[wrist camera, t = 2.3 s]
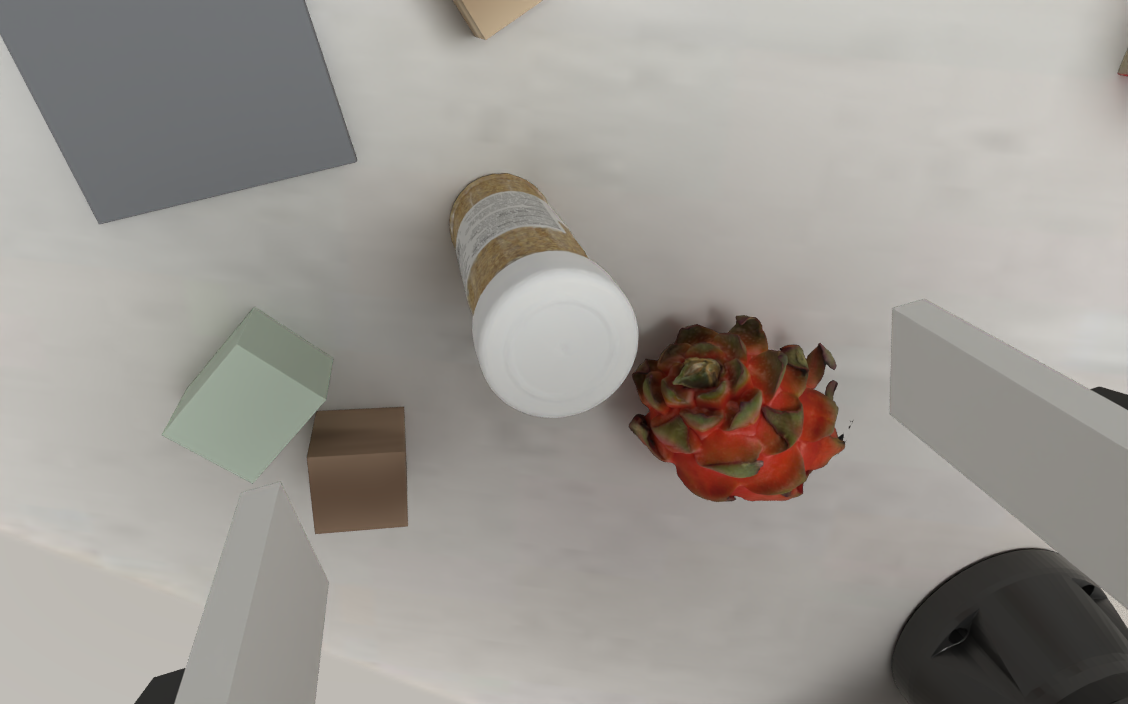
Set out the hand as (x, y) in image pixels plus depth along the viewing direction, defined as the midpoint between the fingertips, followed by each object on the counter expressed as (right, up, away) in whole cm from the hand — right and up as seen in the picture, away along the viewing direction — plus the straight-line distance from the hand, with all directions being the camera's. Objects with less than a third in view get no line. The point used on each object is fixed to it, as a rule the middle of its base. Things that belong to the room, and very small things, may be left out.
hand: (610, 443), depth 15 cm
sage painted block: (-15, +1, +17) cm, 22 cm away
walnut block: (-11, -3, +20) cm, 22 cm away
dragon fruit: (+7, +1, +22) cm, 23 cm away
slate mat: (-15, +13, +11) cm, 23 cm away
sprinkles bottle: (-4, +8, +16) cm, 19 cm away
